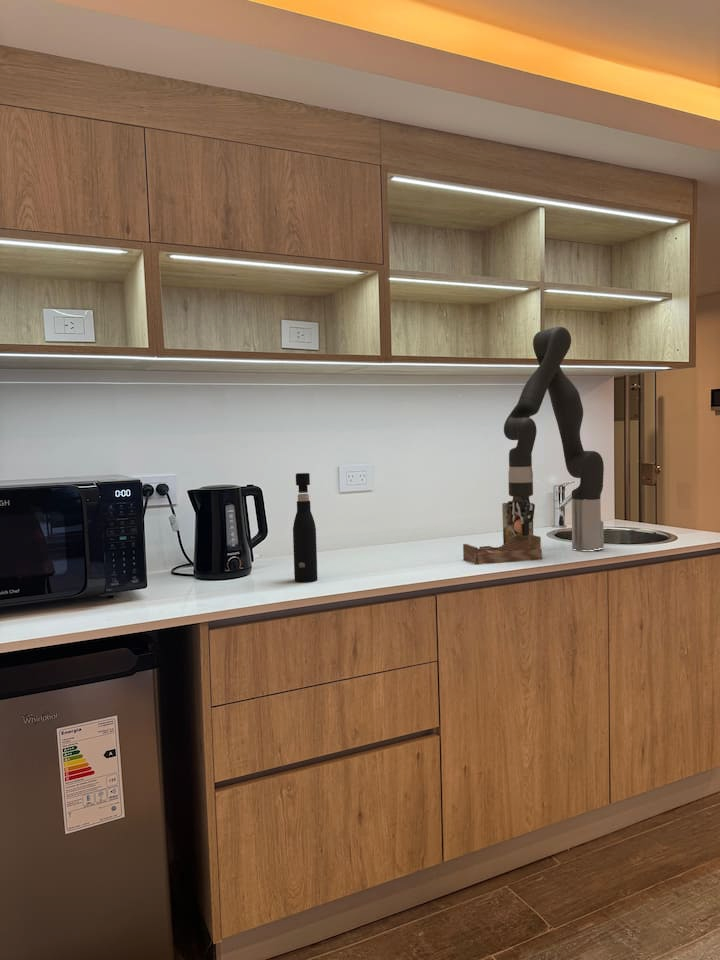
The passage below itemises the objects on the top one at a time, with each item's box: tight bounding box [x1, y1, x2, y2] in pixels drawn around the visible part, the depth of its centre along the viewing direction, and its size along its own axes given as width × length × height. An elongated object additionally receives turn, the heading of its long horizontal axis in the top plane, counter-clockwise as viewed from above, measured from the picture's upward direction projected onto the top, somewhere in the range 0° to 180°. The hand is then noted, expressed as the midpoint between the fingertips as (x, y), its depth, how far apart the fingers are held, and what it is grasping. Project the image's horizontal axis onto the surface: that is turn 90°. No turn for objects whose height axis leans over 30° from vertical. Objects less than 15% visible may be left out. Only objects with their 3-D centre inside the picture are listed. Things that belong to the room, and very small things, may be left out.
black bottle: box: [292, 472, 319, 584], centre depth 188 cm, size 6×6×30 cm
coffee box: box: [501, 502, 534, 545], centre depth 232 cm, size 9×6×16 cm
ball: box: [514, 519, 522, 534], centre depth 214 cm, size 5×5×5 cm
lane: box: [462, 534, 543, 565], centre depth 213 cm, size 22×9×7 cm, turn 104°
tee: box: [479, 545, 494, 549], centre depth 224 cm, size 4×4×2 cm
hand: (521, 534), depth 215 cm, fingers closed on ball, 4 cm apart
